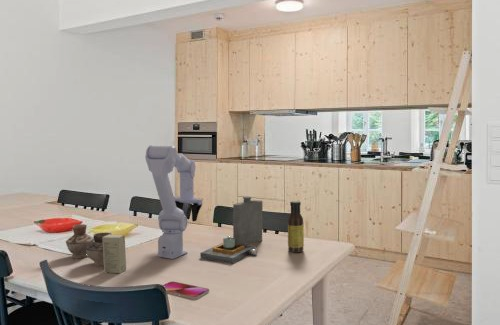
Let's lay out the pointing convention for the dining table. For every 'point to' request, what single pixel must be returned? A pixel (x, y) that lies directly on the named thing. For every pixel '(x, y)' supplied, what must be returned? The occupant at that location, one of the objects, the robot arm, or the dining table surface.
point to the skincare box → (114, 253)
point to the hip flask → (247, 221)
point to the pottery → (86, 244)
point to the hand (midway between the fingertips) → (187, 220)
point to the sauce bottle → (295, 228)
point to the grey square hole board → (228, 253)
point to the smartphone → (185, 290)
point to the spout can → (229, 243)
